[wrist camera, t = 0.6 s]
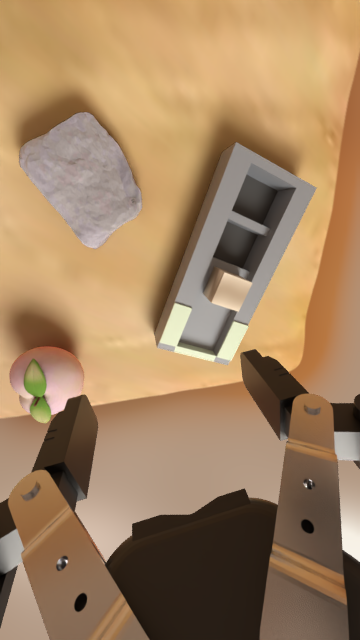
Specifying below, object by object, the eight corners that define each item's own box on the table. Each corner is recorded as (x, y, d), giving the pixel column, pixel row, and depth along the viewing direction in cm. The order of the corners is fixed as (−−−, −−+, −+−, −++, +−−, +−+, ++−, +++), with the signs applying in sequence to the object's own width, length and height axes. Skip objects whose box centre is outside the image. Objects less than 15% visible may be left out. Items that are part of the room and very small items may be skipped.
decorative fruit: (96, 378, 39) (85, 426, 30) (43, 389, 38) (15, 442, 29) (79, 326, 36) (61, 364, 26) (20, 337, 35) (-20, 379, 26)
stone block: (87, 113, 28) (15, 163, 27) (88, 91, 24) (3, 149, 23) (149, 208, 33) (90, 253, 32) (159, 203, 29) (92, 255, 28)
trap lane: (222, 152, 30) (237, 141, 26) (294, 191, 34) (318, 187, 29) (154, 333, 38) (157, 348, 34) (218, 350, 42) (228, 366, 37)
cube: (214, 266, 33) (224, 272, 29) (239, 275, 34) (252, 282, 30) (202, 293, 34) (211, 302, 30) (227, 302, 35) (238, 311, 31)
